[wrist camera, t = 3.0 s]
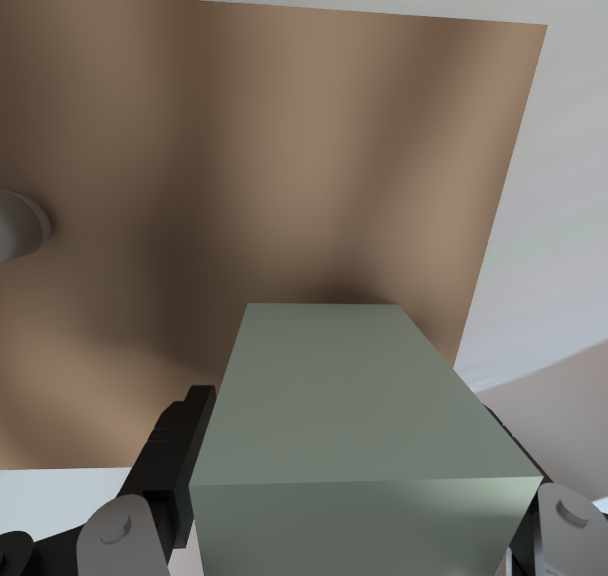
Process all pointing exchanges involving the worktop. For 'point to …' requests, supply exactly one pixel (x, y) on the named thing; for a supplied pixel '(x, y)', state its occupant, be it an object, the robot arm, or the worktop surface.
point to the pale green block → (352, 453)
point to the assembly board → (228, 193)
